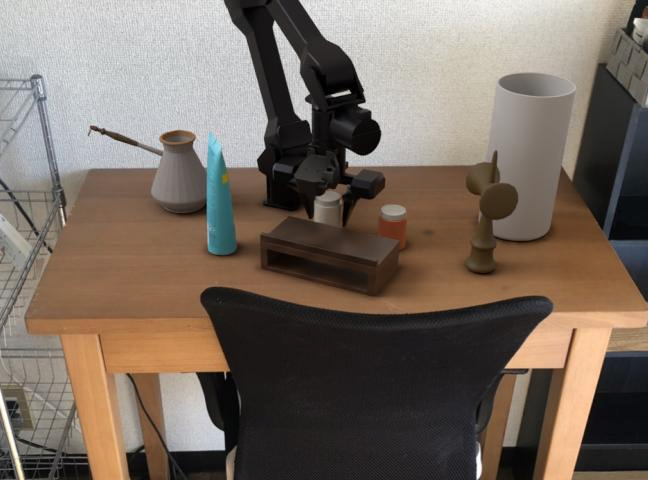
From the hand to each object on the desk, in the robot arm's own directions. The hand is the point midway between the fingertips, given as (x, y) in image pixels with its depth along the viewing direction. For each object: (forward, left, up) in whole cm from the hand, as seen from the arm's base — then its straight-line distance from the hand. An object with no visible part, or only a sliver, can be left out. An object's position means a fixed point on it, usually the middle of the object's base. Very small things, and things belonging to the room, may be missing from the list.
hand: (327, 222), depth 148 cm
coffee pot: (-33, -5, -2) cm, 33 cm away
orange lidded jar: (+12, 0, -2) cm, 12 cm away
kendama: (+28, -1, -2) cm, 28 cm away
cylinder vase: (+29, +16, -2) cm, 33 cm away
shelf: (+6, -12, -2) cm, 14 cm away
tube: (-13, -14, -2) cm, 19 cm away
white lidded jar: (0, 0, -2) cm, 2 cm away
